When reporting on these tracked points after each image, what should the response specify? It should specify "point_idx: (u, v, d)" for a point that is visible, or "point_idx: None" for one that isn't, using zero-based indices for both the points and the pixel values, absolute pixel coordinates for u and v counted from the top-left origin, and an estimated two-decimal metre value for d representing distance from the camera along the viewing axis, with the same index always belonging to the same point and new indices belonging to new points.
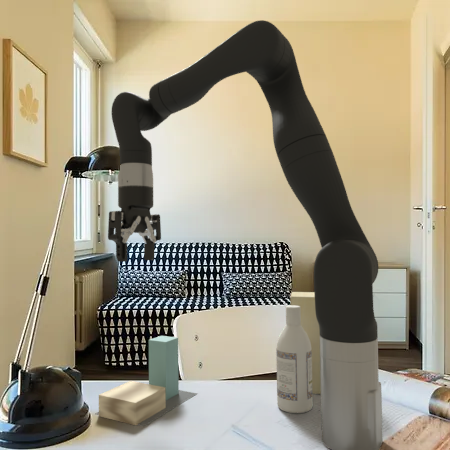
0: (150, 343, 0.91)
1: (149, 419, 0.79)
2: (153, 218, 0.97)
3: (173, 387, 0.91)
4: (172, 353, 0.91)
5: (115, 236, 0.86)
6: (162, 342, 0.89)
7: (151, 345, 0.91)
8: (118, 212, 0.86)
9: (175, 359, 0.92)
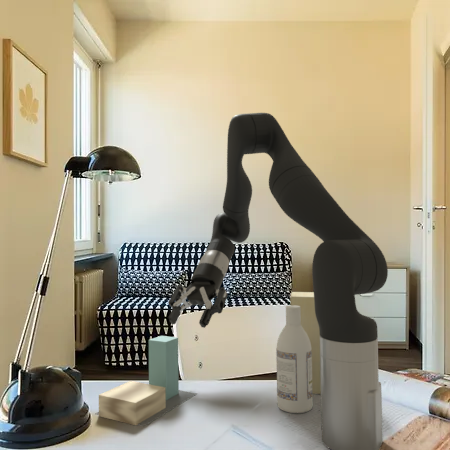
0: (150, 343, 0.91)
1: (149, 419, 0.79)
2: (219, 292, 1.03)
3: (173, 387, 0.91)
4: (172, 353, 0.91)
5: None
6: (162, 342, 0.89)
7: (151, 345, 0.91)
8: (178, 286, 1.09)
9: (175, 359, 0.92)
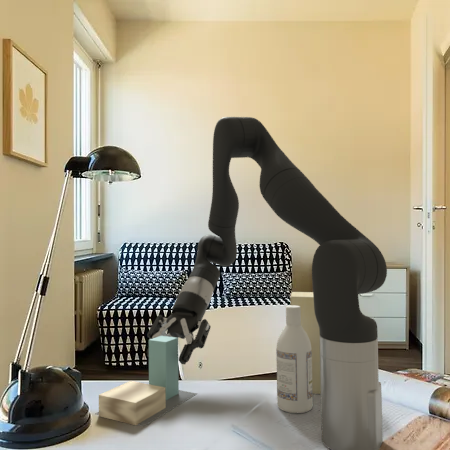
0: (150, 343, 0.91)
1: (149, 419, 0.79)
2: None
3: (173, 387, 0.91)
4: (172, 353, 0.91)
5: None
6: (162, 342, 0.89)
7: (151, 345, 0.91)
8: (158, 316, 1.01)
9: (175, 359, 0.92)
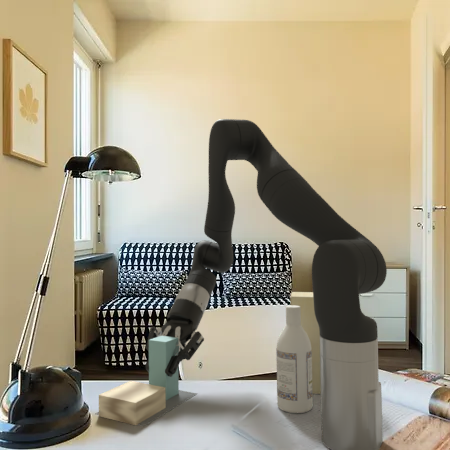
0: (150, 343, 0.91)
1: (149, 419, 0.79)
2: None
3: (173, 387, 0.91)
4: (172, 353, 0.91)
5: None
6: (162, 342, 0.89)
7: (151, 345, 0.91)
8: (151, 328, 0.99)
9: None
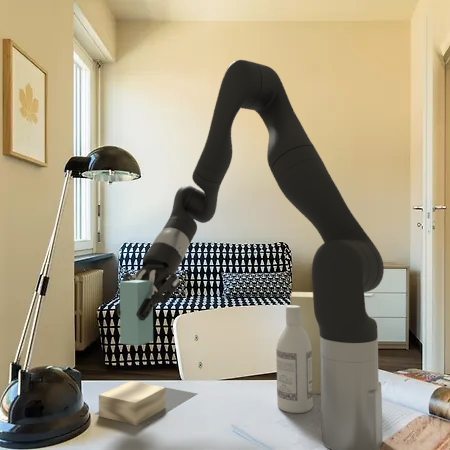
0: (121, 285, 0.84)
1: (149, 419, 0.79)
2: None
3: (146, 333, 0.83)
4: (145, 296, 0.84)
5: None
6: (134, 283, 0.82)
7: (122, 287, 0.83)
8: (125, 274, 0.91)
9: None
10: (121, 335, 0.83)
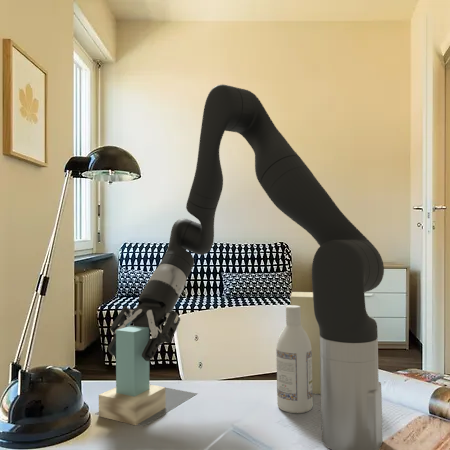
0: (117, 333, 0.82)
1: (149, 419, 0.79)
2: None
3: (143, 382, 0.82)
4: (142, 345, 0.82)
5: None
6: (130, 332, 0.81)
7: (118, 336, 0.82)
8: (123, 307, 0.91)
9: None
10: (117, 384, 0.82)
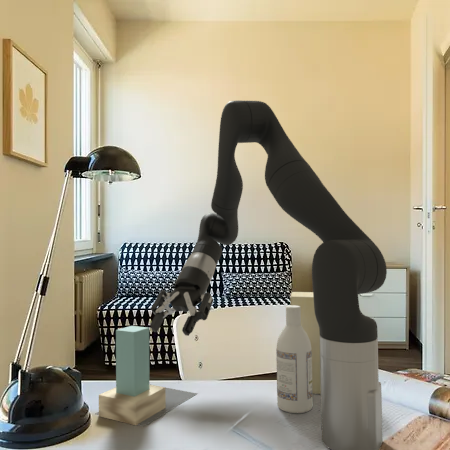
0: (117, 333, 0.82)
1: (149, 419, 0.79)
2: (204, 297, 0.97)
3: (143, 382, 0.82)
4: (142, 345, 0.82)
5: None
6: (130, 332, 0.81)
7: (118, 336, 0.82)
8: (161, 291, 1.02)
9: (146, 351, 0.83)
10: (117, 384, 0.82)
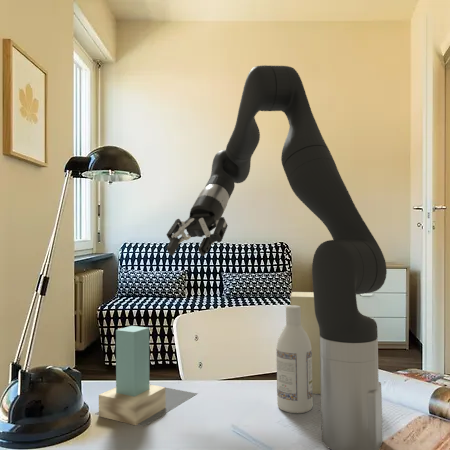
0: (117, 333, 0.82)
1: (149, 419, 0.79)
2: None
3: (143, 382, 0.82)
4: (142, 345, 0.82)
5: None
6: (130, 332, 0.81)
7: (118, 336, 0.82)
8: None
9: (146, 351, 0.83)
10: (117, 384, 0.82)
